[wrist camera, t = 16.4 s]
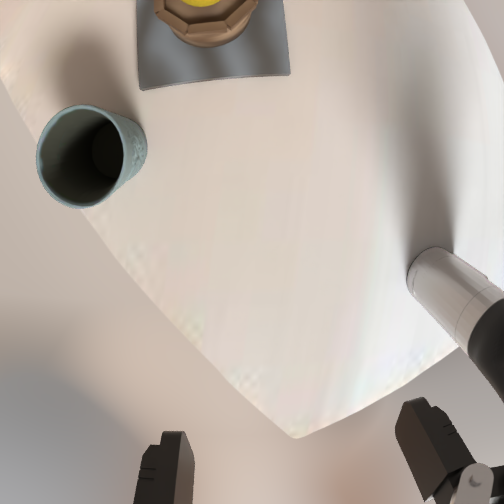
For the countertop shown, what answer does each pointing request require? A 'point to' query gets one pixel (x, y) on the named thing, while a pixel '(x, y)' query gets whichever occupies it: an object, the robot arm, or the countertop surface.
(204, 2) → the lemon
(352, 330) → the countertop surface
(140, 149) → the teal cup
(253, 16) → the pot with square base
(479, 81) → the countertop surface
